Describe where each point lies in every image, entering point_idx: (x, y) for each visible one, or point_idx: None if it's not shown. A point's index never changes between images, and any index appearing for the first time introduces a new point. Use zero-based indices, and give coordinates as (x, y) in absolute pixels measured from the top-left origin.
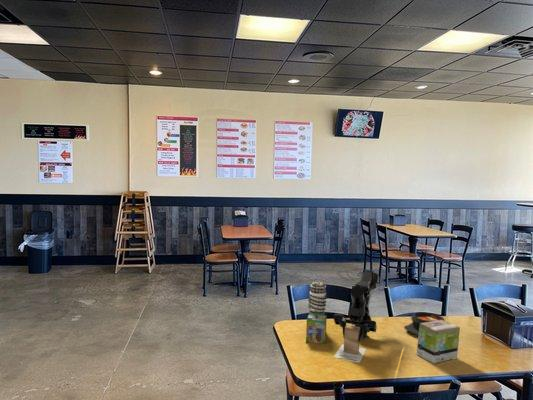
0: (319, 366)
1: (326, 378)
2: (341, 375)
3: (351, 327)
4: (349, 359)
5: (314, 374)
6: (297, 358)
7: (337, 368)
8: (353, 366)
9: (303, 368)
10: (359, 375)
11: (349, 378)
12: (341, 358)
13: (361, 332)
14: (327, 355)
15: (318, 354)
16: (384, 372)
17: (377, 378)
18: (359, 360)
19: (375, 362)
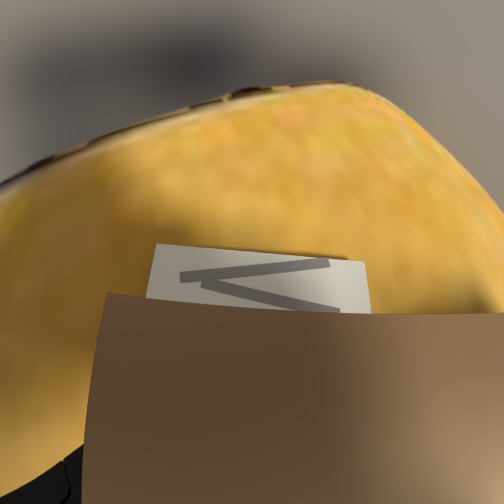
0: (377, 168)
1: (303, 99)
2: (251, 125)
3: (450, 446)
4: (241, 271)
5: (356, 113)
6: (481, 211)
7: (291, 172)
8: (199, 226)
9: (413, 142)
10: (159, 148)
11: (209, 116)
12: (306, 262)
13: (70, 495)
14: (412, 313)
15: (454, 297)
16: (16, 227)
17: (71, 157)
18: (156, 289)
19: (39, 352)
